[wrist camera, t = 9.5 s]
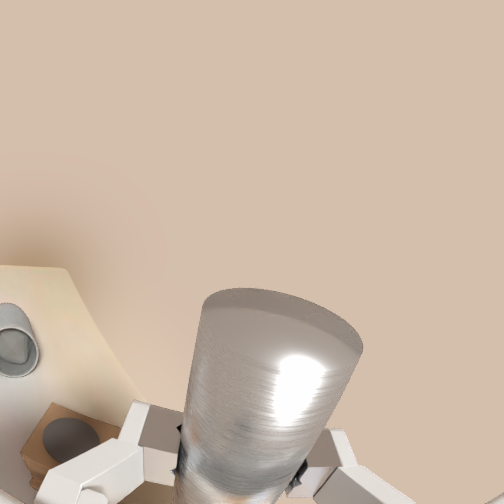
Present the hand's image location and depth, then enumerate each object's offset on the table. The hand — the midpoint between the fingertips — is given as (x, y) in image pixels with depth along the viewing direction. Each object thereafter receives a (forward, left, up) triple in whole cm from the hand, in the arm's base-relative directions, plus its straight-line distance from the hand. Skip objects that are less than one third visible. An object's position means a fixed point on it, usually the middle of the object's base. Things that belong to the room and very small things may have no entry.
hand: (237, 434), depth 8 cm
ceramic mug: (-27, +19, -21) cm, 39 cm away
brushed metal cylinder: (0, -1, -6) cm, 6 cm away
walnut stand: (-11, +7, -21) cm, 24 cm away
